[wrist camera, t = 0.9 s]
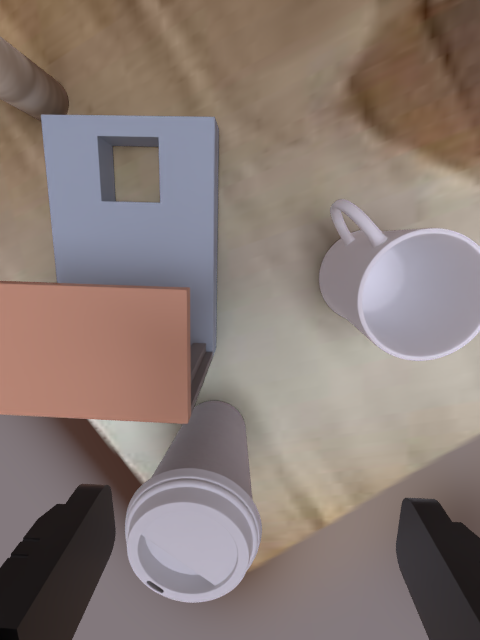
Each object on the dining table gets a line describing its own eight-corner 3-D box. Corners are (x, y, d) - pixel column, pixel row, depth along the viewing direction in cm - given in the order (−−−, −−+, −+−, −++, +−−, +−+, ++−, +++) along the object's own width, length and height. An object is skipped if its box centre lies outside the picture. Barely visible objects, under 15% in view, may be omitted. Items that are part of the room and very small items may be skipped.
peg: (26, 77, 29) (-88, -2, 20) (66, 78, 29) (-28, -2, 20) (30, 123, 30) (-77, 69, 21) (70, 124, 30) (-19, 69, 20)
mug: (284, 230, 31) (300, 225, 20) (369, 177, 30) (440, 139, 18) (345, 336, 33) (392, 388, 22) (426, 291, 32) (524, 321, 20)
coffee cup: (154, 410, 36) (85, 525, 22) (233, 371, 35) (215, 467, 20) (199, 480, 38) (163, 630, 23) (275, 445, 37) (288, 583, 22)
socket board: (61, 126, 30) (-109, 28, 16) (218, 128, 30) (184, 29, 16) (80, 342, 35) (-40, 412, 21) (216, 347, 34) (187, 423, 20)
